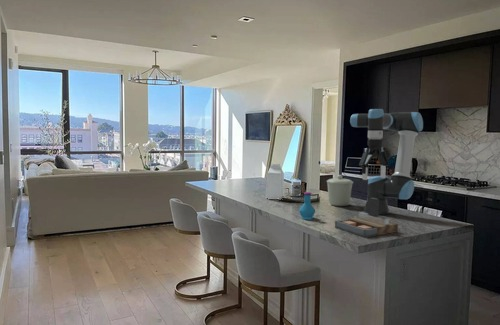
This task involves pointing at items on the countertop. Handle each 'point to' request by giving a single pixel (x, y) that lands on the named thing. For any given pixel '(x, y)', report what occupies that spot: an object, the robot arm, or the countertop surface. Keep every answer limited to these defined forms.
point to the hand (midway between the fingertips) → (374, 178)
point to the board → (376, 226)
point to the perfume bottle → (307, 207)
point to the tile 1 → (350, 223)
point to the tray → (355, 229)
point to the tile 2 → (364, 227)
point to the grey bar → (373, 213)
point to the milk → (275, 182)
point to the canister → (339, 191)
